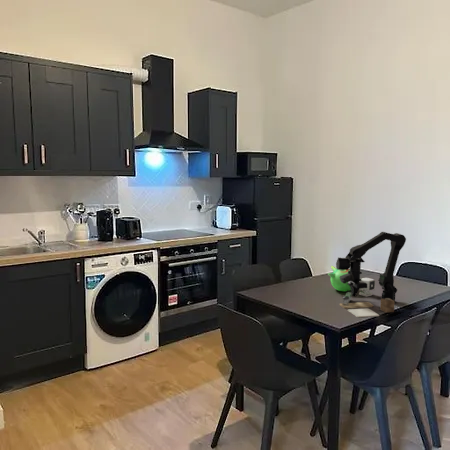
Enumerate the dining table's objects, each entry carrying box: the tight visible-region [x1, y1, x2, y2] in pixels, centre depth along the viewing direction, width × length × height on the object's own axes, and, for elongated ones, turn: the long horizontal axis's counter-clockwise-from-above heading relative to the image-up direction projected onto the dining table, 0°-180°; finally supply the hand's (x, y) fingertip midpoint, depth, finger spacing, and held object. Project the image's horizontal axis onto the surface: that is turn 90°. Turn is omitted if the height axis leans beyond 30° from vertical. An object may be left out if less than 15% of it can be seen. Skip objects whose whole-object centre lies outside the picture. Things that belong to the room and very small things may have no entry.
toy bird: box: [327, 265, 351, 292], centre depth 270 cm, size 18×17×15 cm
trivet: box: [347, 307, 380, 318], centre depth 227 cm, size 12×11×1 cm
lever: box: [342, 291, 352, 305], centre depth 244 cm, size 16×3×4 cm, turn 156°
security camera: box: [358, 277, 376, 297], centre depth 261 cm, size 6×7×10 cm
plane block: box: [339, 301, 374, 309], centre depth 239 cm, size 17×6×1 cm, turn 101°
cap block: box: [380, 298, 396, 313], centre depth 232 cm, size 5×5×7 cm
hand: (353, 296), depth 247 cm, fingers closed
